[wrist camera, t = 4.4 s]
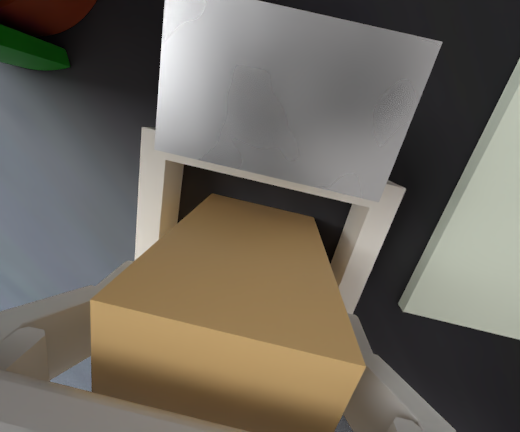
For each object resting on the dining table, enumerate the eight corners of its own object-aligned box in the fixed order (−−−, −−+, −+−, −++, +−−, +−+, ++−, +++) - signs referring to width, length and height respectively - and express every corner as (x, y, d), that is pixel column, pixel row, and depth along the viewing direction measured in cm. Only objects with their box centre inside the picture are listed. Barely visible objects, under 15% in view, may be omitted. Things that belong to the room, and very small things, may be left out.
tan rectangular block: (212, 193, 12) (90, 299, 4) (313, 217, 12) (365, 366, 4) (198, 279, 14) (92, 464, 6) (287, 301, 14) (292, 515, 6)
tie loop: (172, 50, 10) (31, -51, 4) (413, 106, 10) (584, 73, 4) (150, 306, 14) (65, 419, 9) (318, 347, 14) (342, 488, 9)
